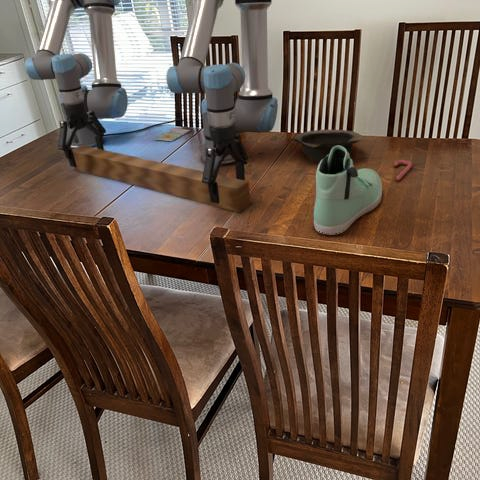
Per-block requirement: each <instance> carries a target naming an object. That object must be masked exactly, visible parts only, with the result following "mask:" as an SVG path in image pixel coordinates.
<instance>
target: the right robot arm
mask: <svg viewBox="0 0 480 480" xmlns="http://www.w3.org/2000/svg"><path fill="white" fill-rule="evenodd" d="M224 1H225V0H194V3H193V7H192V11H191V14H190V18H189V21H188V25H187V30H186V33H185V38H184V41H183V46H182V50H181V53H180V57H179V60H178V61H179V62H178V64H177V65H174V66H169V68H168V69H167V71H166V75H165V76H166V78H165V79H166V80H165V81H166V85H167V88H168V89H169V91H170V92H172V93H174V94H182V95H185V94H205V97H204V99H203V100H202V101H201V104H200V106H201V112H200V113H201V118H202V126H203V134H204V142H203V147H202V151H201V160H202V162H203V163H204V167H203V177H202V183H206V184H208V190H209V193H210V201H211V202H213V203H217V204H218V203H220V202H219V192H218V183H217V182H215V181H216V178H217V175H219V172H220V169H221V167H222V166H229V165H232V164H234V168H235V179H240V180H245V181H246V176H245V175H246V174H245V173H246V172H245V165H247V164H248V160H249V155H248V152H247V151H246V148H245V146H244V144H243V141H242V136H241V134H240V133H258V134H260V133H270V132H272V131H273V129H274V127H275V124H276V121H277V116H278V106H279V103H278V101H279V100H278V98H276V97H273V91H272V90H271V89H270V88H269V68H268V67H269V65H268V64H269V63H268V62H269V61H268V56H269V55H268V9H269V8H270V6H271V5H272V2H273V1H272V0H234V5H235V7H236V8H237V9H238V10H239V15H240V17H239V19H240V41H241V42H240V43H241V45H240V47H241V65H240V64H239V63H237V62H229V63H226V64H225V63H224V64H221V63H219V64H212V65H205V64H206V60H207V56H208V52H209V49H210V44H211V41H212V36H213V31H214V27H215V23H216V20H217V15H218V11H219V9H220V8H221V7H222V6H223V5H224ZM241 88H242V89H241ZM237 92H238V97H235V94H236V93H237Z"/></svg>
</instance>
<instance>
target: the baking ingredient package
mask: <svg viewBox="0 0 480 480" xmlns="http://www.w3.org/2000/svg"><path fill="white" fill-rule="evenodd" d="M190 131H191V130H190V129H182V128H174V127H173V128H172V129H170V130H168V131H166V132H164V133H163V134H161V135H159V136H157V137H155V138H154V140H158V141H167V142H172V141H174V140H176V139H178V138H181V136H184V135H185V134H186V133H188V132H190Z"/></svg>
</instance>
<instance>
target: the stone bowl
mask: <svg viewBox="0 0 480 480" xmlns="http://www.w3.org/2000/svg"><path fill="white" fill-rule="evenodd" d="M363 139H365V137H364V136H363V135H362V134H360V133H358V132H355V131H352V130H346V129H319V130H317V129H315V130H308V131H304V132H299V133H297V134H295V135H294V137H293V138H292V141H294V142H296V143H298V144H301V149H302V152H303V153H304V155H305V156H307V157H308V158H309V160H310V162H311V163H313V164H319V163H320V161H321V160H322V159H324V158H325V157H326V156H327V155H329V154H330V152H331V149H332V148H333V147H334V146H342V147H344V148H345V149H346V150H347V152H348V153H349V156H350V157H351V154H352V150H353V144H355V143H359V142H360V141H362V140H363Z"/></svg>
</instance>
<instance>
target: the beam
mask: <svg viewBox="0 0 480 480" xmlns="http://www.w3.org/2000/svg"><path fill="white" fill-rule="evenodd" d="M72 151H73V155H74V158H75V162H76V166H77V167H73V168H74V170H75V171H78V172H82V173H86V174H90V175H94V176H98V177H102V178H106V179H110V180H113V181H116V182H121V183H125V184H129V185H133V186H137V187H140V188H144V189H148V190H151V191H155V192H160V193H164V194H167V195H171V196H174V197H179V198H182V199H186V200H191V201H195V202H199V203H203V204H206V205H210V206H214V207H217V208H222V209H225V210H229V211H233V212H237V213H240V212H243V210H245V209H246V208H247V207H248V206H250V205H251V197H250V196H251V195H250V184H249V182H250V181H249V180H246V179H245V180H240V179H236V177H230V176H227V175H222V174H218V175H217V178H216V181H215V182H217V183H218V192H219V202H220V203H218V204H217V203H213V202H211V201H210V193H209V190H208V184H206V183H202V177H203V172H204V170H197V169H193V168H188V167H186V166H185V167H184V166H180V165H176V164H171V163H166V162H161V161H156V160H152V159H148V158H147V159H146V158H143V157H138V156H133V155H128V154H124V153H120V152H114V151H110V150H106V149H104V150H101V149H98V148H97V147H87V146H83V145H82V146H79V147H77V148H75V149H72Z"/></svg>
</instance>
